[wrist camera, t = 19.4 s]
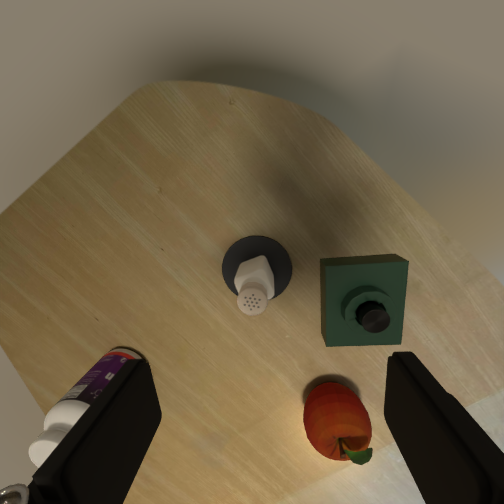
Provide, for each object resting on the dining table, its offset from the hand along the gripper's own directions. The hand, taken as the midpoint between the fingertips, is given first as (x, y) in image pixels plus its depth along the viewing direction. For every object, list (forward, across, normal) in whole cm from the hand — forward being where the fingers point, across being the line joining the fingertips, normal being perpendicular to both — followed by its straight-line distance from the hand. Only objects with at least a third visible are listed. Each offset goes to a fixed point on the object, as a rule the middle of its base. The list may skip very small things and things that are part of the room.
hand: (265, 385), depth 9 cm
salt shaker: (+24, +2, +4) cm, 24 cm away
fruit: (+24, -8, +27) cm, 37 cm away
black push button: (+20, -12, +9) cm, 25 cm away
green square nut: (+24, -12, +9) cm, 28 cm away
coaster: (+24, +2, +4) cm, 25 cm away
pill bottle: (+24, +26, +20) cm, 41 cm away
